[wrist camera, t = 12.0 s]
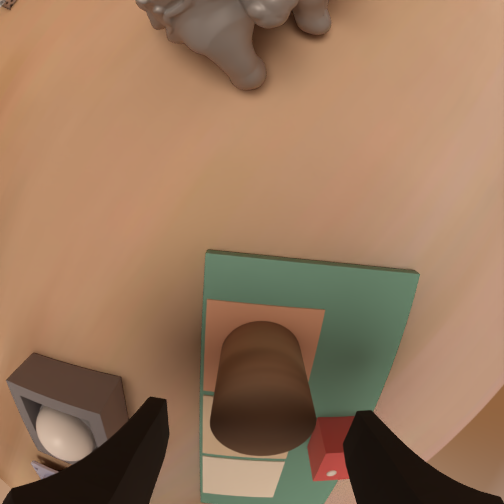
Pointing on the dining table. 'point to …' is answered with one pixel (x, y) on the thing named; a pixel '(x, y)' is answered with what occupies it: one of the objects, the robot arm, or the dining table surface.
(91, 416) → the grey open box
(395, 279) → the game board
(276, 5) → the gray elephant figurine
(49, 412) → the cream ball
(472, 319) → the dining table surface
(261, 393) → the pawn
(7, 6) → the house of cards
